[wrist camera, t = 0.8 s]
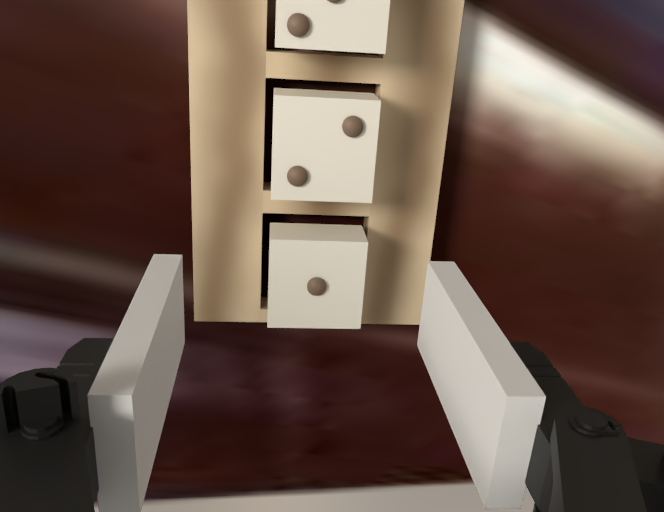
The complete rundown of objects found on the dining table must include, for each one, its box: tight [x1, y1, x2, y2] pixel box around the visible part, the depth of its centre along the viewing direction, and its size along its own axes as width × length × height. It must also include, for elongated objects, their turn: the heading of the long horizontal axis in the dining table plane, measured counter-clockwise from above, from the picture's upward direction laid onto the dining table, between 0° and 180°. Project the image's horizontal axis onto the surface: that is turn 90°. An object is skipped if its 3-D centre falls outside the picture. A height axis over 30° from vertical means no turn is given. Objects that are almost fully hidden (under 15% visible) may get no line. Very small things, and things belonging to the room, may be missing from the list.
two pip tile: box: [271, 88, 381, 203], centre depth 37 cm, size 6×6×3 cm
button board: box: [187, 0, 464, 325], centre depth 40 cm, size 16×26×2 cm, turn 176°
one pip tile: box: [267, 223, 368, 329], centre depth 40 cm, size 6×6×3 cm
